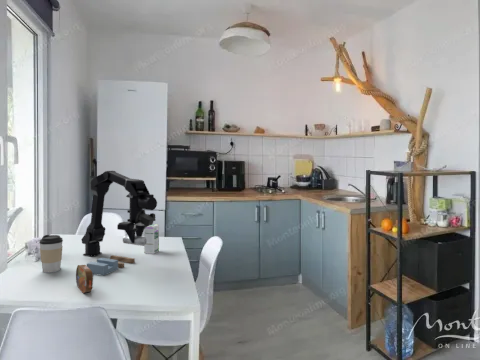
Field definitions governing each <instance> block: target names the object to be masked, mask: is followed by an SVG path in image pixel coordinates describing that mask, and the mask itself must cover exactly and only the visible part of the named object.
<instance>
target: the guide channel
mask: <svg viewBox="0 0 480 360" xmlns="http://www.w3.org/2000/svg"><path fill="white" fill-rule="evenodd" d="M109 259H113V260H118V269H124V268H125V263H126V264H135V262H136V258H134V257H129V256H128V257H127V256H121V255H114V254H112V255H110V257H109Z"/></svg>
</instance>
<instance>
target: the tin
mask: <svg viewBox="0 0 480 360" xmlns="http://www.w3.org/2000/svg"><path fill="white" fill-rule="evenodd" d="M75 282H76V286H77V288H78V289H79V290H80V291H81V292H82V293H83V294H85V293H91V292H92V290H93V288H94V287H93V284H94V274H93V273H92V271H91V270H90V269H89V268H88V267H87V264H78V265H77V267H76V271H75Z"/></svg>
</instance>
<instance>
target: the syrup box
mask: <svg viewBox="0 0 480 360" xmlns="http://www.w3.org/2000/svg"><path fill="white" fill-rule="evenodd" d="M159 226H160V225H159V224H158V223H157V224H156V223H153V224H152V225H149V226H147V227H146V228H145V229H144V231H143V237H146V239H147V242H146V244H145V245H144V246H143V249H144V250H143V253H144V254H148V255H155V254H157V253H158V252H159V251H160V232H159V231H160V227H159Z"/></svg>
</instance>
